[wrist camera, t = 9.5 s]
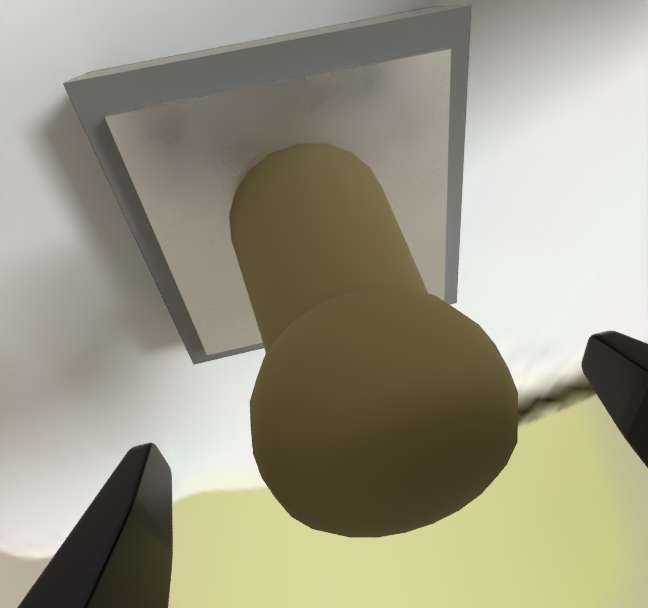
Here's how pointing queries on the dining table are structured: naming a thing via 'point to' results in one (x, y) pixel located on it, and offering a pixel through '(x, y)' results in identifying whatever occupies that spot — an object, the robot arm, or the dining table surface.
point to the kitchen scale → (275, 134)
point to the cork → (360, 356)
